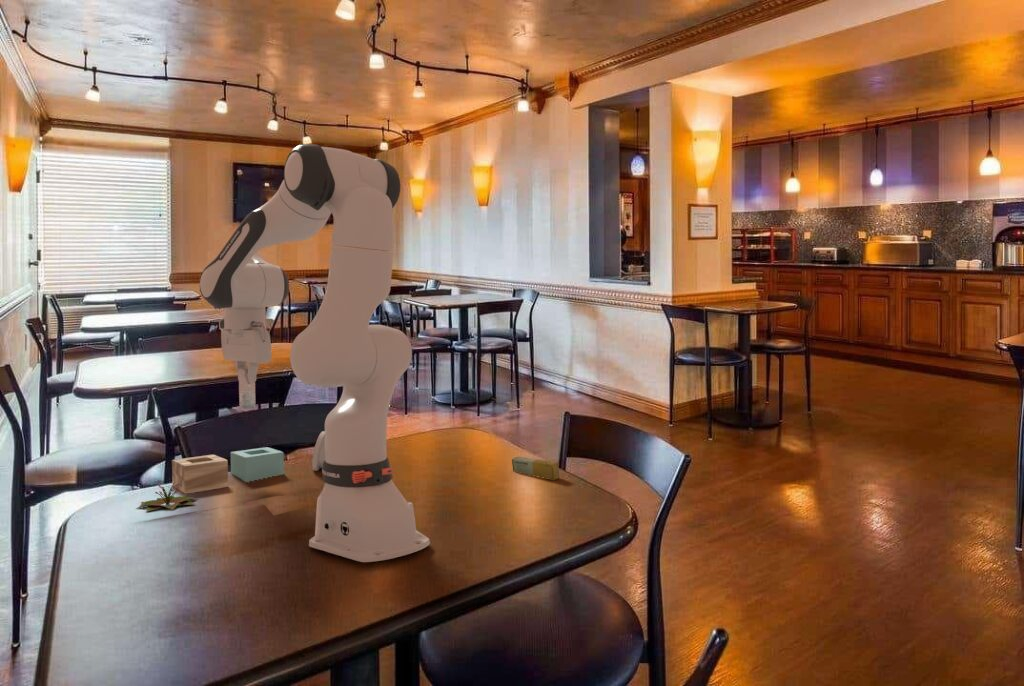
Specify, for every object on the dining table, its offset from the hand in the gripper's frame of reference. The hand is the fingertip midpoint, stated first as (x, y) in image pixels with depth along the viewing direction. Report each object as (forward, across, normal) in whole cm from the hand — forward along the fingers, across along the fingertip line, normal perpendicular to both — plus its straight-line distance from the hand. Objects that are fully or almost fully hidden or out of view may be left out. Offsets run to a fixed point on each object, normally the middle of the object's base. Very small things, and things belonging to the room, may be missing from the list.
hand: (247, 381), depth 162 cm
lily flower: (+24, -10, +21) cm, 33 cm away
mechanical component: (+23, -6, -16) cm, 29 cm away
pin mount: (+23, 0, +11) cm, 25 cm away
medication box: (+24, -46, -49) cm, 71 cm away
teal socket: (+23, 0, -2) cm, 23 cm away
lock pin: (+6, 0, 0) cm, 6 cm away
